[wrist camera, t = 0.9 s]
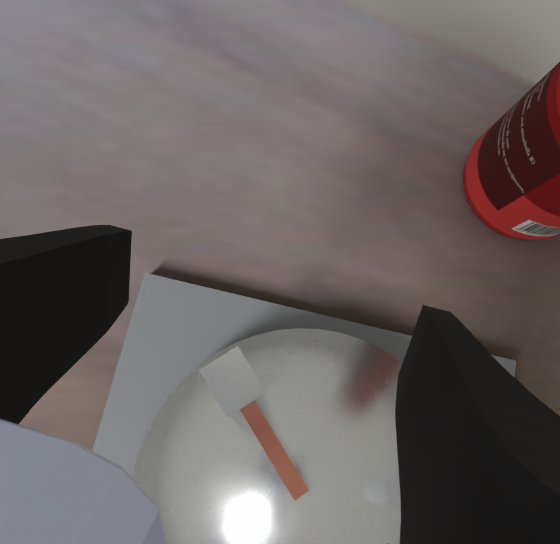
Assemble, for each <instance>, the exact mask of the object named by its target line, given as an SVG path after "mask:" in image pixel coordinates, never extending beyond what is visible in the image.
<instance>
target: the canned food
mask: <svg viewBox="0 0 560 544" xmlns="http://www.w3.org/2000/svg"><path fill="white" fill-rule="evenodd" d="M463 184H464V191H465V195H466V198H467V201H468V203H469V205H470V206H471V208H472V210H473V212H474V213H475V214H476V215H477V217H478V218H479V219H480V220H481V221H482V222H483V223H484V224H486V225H487V226H488V227H489V228H491V229H492V230H494V231H496V232H497V233H499V234H502V235H504V236H507V237H510V238H515V239H521V240H542V239H547V238H551V237H555V236H557V235H560V62H559V63H558V64H557V65H556V66H555V67H554V68H553V69H552V70H551V71H550V72H549V73H548V74H547V75H545V76H544V77H543V78H542V79H541V80H540V81H539V82H538V83H537V84H536V85H535V86H534V87H533V88H532V89H531V90H530V91H529V92H528V93H526V94H525V95H524V96H523V97H522V98H521V99H520V100H519V101H518V102H517V103H516V104H515V105H514V106H513V107H512V108H511V109H510V110H509V111H507V112H506V113H505V114H504V115H503V116H502V117H501V118H500V119H499V120H498V121H497V122H496V123H495V124H494V125H493V126H492V127H491V128H490V129H489V130H487V131H486V132H485V133H484V134H483V135H482V136H481V137H480V138H479V140H478V141H477V142H476V143H475V145H474V146H473V148H472V150H471V151H470V153H469V156H468V159H467V162H466V165H465V168H464V175H463Z"/></svg>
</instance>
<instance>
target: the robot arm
mask: <svg viewBox="0 0 560 544" xmlns="http://www.w3.org/2000/svg"><path fill="white" fill-rule="evenodd" d="M131 235H132V231H130V230H126V229H123V228H119V227H115V226H111V225H94V226H85V227H78V228H71V229H65V230H58V231H52V232H46V233H40V234H34V235H27V236H20V237H12V238H5V239H0V544H166V539H165V535H164V531H163V527H162V523H161V519H160V515H159V511H158V509H157V507H156V505H155V503H154V502H153V501H152V500H151V499H150V498H149V496H148V495H147V494H146V493H145V492H144V491H143V490H142V489H141V487H140V486H139V485H138V484H137V483H136V482H135V481H134V480H133V478H132V477H131V476H130V475H129V474H128V473H127V472H126V471H125V469H124V468H123V467H121V466H119V465H118V464H116V463H114V462H112V461H110V460H108V459H106V458H104V457H102V456H101V455H99V454H97V453H95V452H93V451H91V450H89V449H87V448H85V447H83V446H82V445H80V444H78V443H75V442H72V441H69V440H66V439H63V438H59V437H56V436H53V435H50V434H47V433H44V432H40V431H37V430H34V429H31V428H28V427H24V426H21V425H18V424H19V423H20V422H21V421H22V419H23V418H24V417H25V416H26V414H27V413H28V412H29V411H30V409H31V408H32V407H33V406H34V405H35V404H36V403H37V401H38V400H39V399H40V398H41V397H42V396H43V395H44V394H45V393H46V392H47V391H48V390H49V389H50V388H51V387H52V386H53V385H54V384H55V383H56V382H57V381H58V380H59V379H60V378H61V377H62V376H63V375H64V374H65V373H66V372H67V371H68V370H69V369H70V368H71V367H72V366H73V365H74V364H75V363H76V362H77V361H78V360H79V359H80V358H81V357H82V356H83V355H84V354H85V353H86V352H87V351H88V350H89V349H90V348H91V347H92V346H93V345H94V344H95V343H96V342H97V341H98V340H99V339H100V338H101V337H102V336H103V335H104V334H105V333H106V332H107V331H108V330H109V329H110V327H111V326H112V325H113V323H114V322H115V321H116V319H117V318H118V317H119V315H120V314H121V312H122V311H123V310H124V308H125V307H126V305H127V304H128V301H129V279H130V257H131ZM395 422H396V438H397V454H398V468H399V483H400V499H401V526H400V544H560V416H559V415H558V414H556V413H555V412H554V411H552V410H551V409H550V408H549V407H547V406H546V405H545V404H544V403H542V402H541V401H540V400H539V399H538V398H536V397H535V396H534V395H533V394H532V393H531V392H529V391H528V390H527V389H526V388H525V387H524V386H523V385H522V384H521V383H520V382H519V381H517V380H516V379H515V378H514V377H513V376H512V375H511V374H510V373H509V372H508V371H507V370H506V369H505V368H504V367H503V366H502V365H501V364H500V363H499V362H498V361H497V360H496V359H495V358H494V357H493V356H492V355H491V354H490V353H489V352H488V351H487V350H486V349H485V348H484V347H483V346H482V344H481V343H480V342H479V341H478V340H477V339H476V338H475V337H474V336H473V335H472V334H471V333H470V331H469V330H468V329H467V328H466V327H465V326H464V325H463V324H462V323H461V322H460V321H459V320H458V319H457V318H456V317H455V316H454V315H453V314H452V313H451V312H448V311H444V310H440V309H436V308H433V307H429V306H425V305H423V307H422V310H421V312H420V315H419V318H418V321H417V324H416V327H415V329H414V332H413V335H412V338H411V341H410V344H409V346H408V349H407V352H406V355H405V358H404V361H403V363H402V366H401V369H400V372H399V375H398V381H397V392H396V405H395Z"/></svg>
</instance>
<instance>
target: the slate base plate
mask: <svg viewBox="0 0 560 544" xmlns="http://www.w3.org/2000/svg"><path fill="white" fill-rule="evenodd" d="M295 328H306V329H322V330H328V331H334V332H340V333H343V334H346V335H349V336H353V337H356V338H359V339H361V340H364V341H366V342H368V343H370V344H372V345H375V346H377V347H379V348H380V349H382V350H384V351H385V352H387V353H389V354H390V355H392V356H393V357H395V358H397V359H398V360H399V361H400V362H401V363H403V361H404V358H405V355H406V352H407V349H408V346H409V344H410V341H411V338H412V336H410V335H406V334H402V333H397V332H393V331H389V330H385V329H381V328H376V327H372V326H368V325H364V324H359V323H355V322H351V321H347V320H343V319H338V318H334V317H330V316H326V315H322V314H317V313H313V312H309V311H305V310H300V309H296V308H292V307H288V306H284V305H279V304H275V303H271V302H267V301H262V300H258V299H254V298H250V297H246V296H241V295H237V294H233V293H229V292H224V291H220V290H216V289H212V288H208V287H203V286H199V285H195V284H191V283H187V282H182V281H178V280H174V279H170V278H165V277H161V276H157V275H153V274H149V273H144V276H143V279H142V282H141V286H140V289H139V293H138V296H137V300H136V303H135V306H134V310H133V313H132V317H131V320H130V323H129V327H128V330H127V334H126V337H125V341H124V344H123V347H122V351H121V354H120V358H119V361H118V364H117V368H116V371H115V375H114V378H113V382H112V385H111V388H110V392H109V395H108V399H107V402H106V405H105V409H104V412H103V416H102V419H101V423H100V426H99V429H98V433H97V436H96V440H95V443H94V446H93V450H92V451H93V452H95V453H97V454H99V455H101V456H102V457H104V458H106V459H108V460H110V461H112V462H114V463H116V464H118V465H119V466H121V467H123V468H124V469H125V471H126V472H127V473H128V474H129V475H130V476H131V477H132V476H133V471H134V466H135V463H136V460H137V457H138V454H139V451H140V448H141V445H142V442H143V440H144V438H145V436H146V434H147V432H148V430H149V428H150V426H151V424H152V421H153V420H154V418H155V416H156V415H157V413H158V412H159V410H160V409H161V407H162V406H163V404H164V402H165V401H166V400H167V398H168V397H169V396H170V395H171V394H172V392H173V391H174V390H175V389H176V388H177V386H178V385H179V384H180V383H181V382H182V381H183V380H184V379H185V378H186V377H187V376H188V375H189V374H190V373H191V372H192V371H194V370H195V369H196V368H197V367H198V366H199V365H201V364H202V363H203V362H205V361H206V360H208V359H209V358H210V357H212V356H213V355H215V354H216V353H218V352H220V351H221V350H223V349H225V348H227V347H229V346H231V345H233V344H235V343H237V342H239V341H242V340H245V339H247V338H250V337H253V336H255V335H259V334H263V333H267V332H272V331H276V330H285V329H295ZM492 356H493V357H494V358H495V359H496V360H497V361H498V362H499V363H500V364H501V365H502V366H503V367H504V368H505V369H506V370H507V371H508V372H509V373H510V374H511V375H512V376H513V377H514V378H515V370H516V360H511V359H507V358H503V357H499V356H494V355H492Z"/></svg>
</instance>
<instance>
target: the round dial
mask: <svg viewBox="0 0 560 544" xmlns="http://www.w3.org/2000/svg"><path fill="white" fill-rule="evenodd" d="M401 366H402V363H401V362H400V361H399V360H398V359H397V358H395V357H393V356H392V355H390V354H389V353H387V352H385V351H384V350H382V349H380V348H379V347H377V346H375V345H372V344H370V343H368V342H366V341H364V340H361V339H359V338H356V337H353V336H349V335H346V334H343V333H340V332H334V331H328V330H322V329H306V328H295V329H285V330H276V331H272V332H267V333H263V334H259V335H255V336H253V337H250V338H247V339H245V340H242V341H239V342H237V343H235V344H233V345H231V346H229V347H227V348H225V349H223V350H221V351H220V352H218V353H216V354H215V355H213V356H212V357H210V358H209V359H208V360H206V361H205V362H203V363H202V364H201V365H199V366H198V367H197V368H196V369H195V370H194V371H192V372H191V373H190V374H189V375H188V376H187V377H186V378H185V379H184V380H183V381H182V382H181V383H180V384H179V385H178V386H177V388H176V389H175V390H174V391H173V392H172V394H171V395H170V396H169V397H168V398H167V400H166V401H165V402H164V404H163V406H162V407H161V409H160V410H159V412H158V413H157V415H156V416H155V418H154V420H153V421H152V424H151V426H150V428H149V430H148V432H147V434H146V436H145V438H144V440H143V442H142V445H141V448H140V451H139V454H138V457H137V460H136V463H135V466H134V471H133V476H132V478H133V480H134V481H135V482H136V483H137V484H138V485H139V486H140V487H141V489H142V490H143V491H144V492H145V493H146V494H147V495H148V496H149V498H150V499H151V500H152V501H153V502H154V503H155V505H156V507H157V509H158V511H159V515H160V519H161V523H162V527H163V531H164V535H165V539H166V544H400V526H401V499H400V483H399V468H398V454H397V438H396V422H395V405H396V392H397V381H398V375H399V372H400V369H401Z"/></svg>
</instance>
